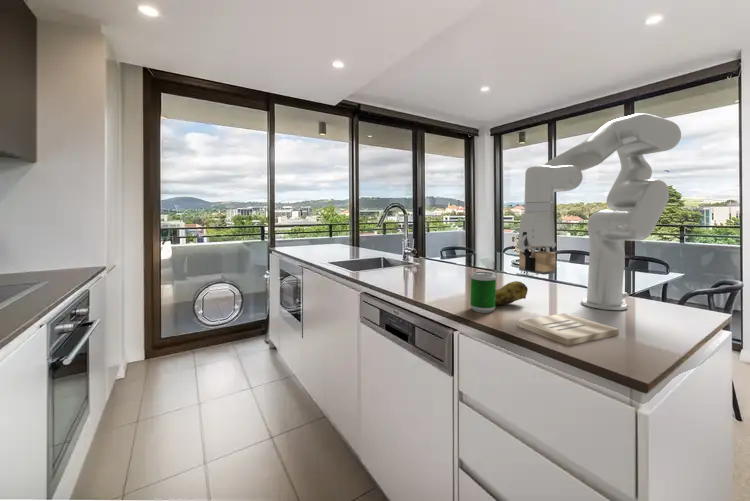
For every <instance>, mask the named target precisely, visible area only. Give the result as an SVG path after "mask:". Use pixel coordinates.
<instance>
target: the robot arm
mask: <svg viewBox="0 0 750 501" xmlns="http://www.w3.org/2000/svg"><path fill="white" fill-rule="evenodd" d="M681 138H682V131H681V128H680V127H679V125H678V124H677V123H676V122H675V121H672V120H669V119H666V118H663V117H660V116H657V115H654V114H649V113H644V112H643V113H639V112H638V113H634V114H631V115H627V116H623V117H619V118H616V119H613V120H611V121H608V122H606V123H605V124H603V125H602V126H601V127H600V128H598V129H597V130H596V131H595V132H594V133H592V134H590V136H589V137H587V138H586V139H585V140H584V141H582V142H581V143H579V144H577V145H575V146H573V147H572V148H569V149H568V150H566V151H564V152H562V153H561V154H558V155H557V156H554V158H552V159H550V160H548V161H547V162H546V163H545V164H543V165H534V166H530V167H528V168H526V171H525V173H524V177H525V180H524V213H522V214H521V217H520V218H521V219H520V223H519V229H518V245H517V249H518V250H519V252H520V251H521V252H522V253H523V254H524V257H525V270H527V271H535V258H533V257H534V253H535V251H536V249H537V248H538V251H543V252H552V251H553V250H554V248H555V247H556V246H557V244H556V242H555V239H556V238H555V236H556V235H555V234H556V230H555V218H554V213H553V210H554V209H553V208H554V204H553V203H554V193H560V192H561V193H562V192H570V191H572V190H574V189H575V190H576V189H577V188H578V187H579V186H580V185H581V183H582V181H583V177H584V176H583V171H586V170H588V169H591V168H594V167H596V166H598V165H600V164H602V163H603V162H604V161H606V160H607V158H609V157H611V155H612V154H613V153H615V152H617V155H618V158H619V161H620V171H619V173H618V175H617V177H616V179H615V180H614V183H613V185H612V187H611V188H610V190H609V192H608V194H607V197H606V205H607V207H608V208H609V209H603V210H602V209H601V210H598V211H596V212H594V213H592V214H591V215H590V217H589V218H588V220H587V233H588V239H589V260H588V273H587V274H588V276H587V291H586V297H584V298H581V302H580V303H581V304H582V305H584V306H585V307H589V308H593V309H598V310H605V311H625V310H627V309H628V304H627V303H625V302H623V299H628V298H630V295H629V293H628V292H623V286H624V270H625V258H626V256H625V255H626V254H625V249H624V247H623V244H622V243H621V241H632V242H638V241H639V242H640V241H643V240H646V239H648V237H650V235H651V234H652V233H653V231H654V229H655V227H656V226H657V225H658V222H659V220H660V218H661V216H662V214H663V212H664V211H665V208H666V206H667V205H668V201H669V198H670V190H669V186H668V185H667V183H666V182H665V181H664V180H661V179H656V178H652V175H653V169H652V167H651V165H650V163H648V161H647V160H646V159H645V157H644V155H649V154H654V153H662V152H666V151H670V150H672V149H674V148H675V147H676V146H678V145H679V143H680V140H681ZM529 250H531V251H529Z"/></svg>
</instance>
